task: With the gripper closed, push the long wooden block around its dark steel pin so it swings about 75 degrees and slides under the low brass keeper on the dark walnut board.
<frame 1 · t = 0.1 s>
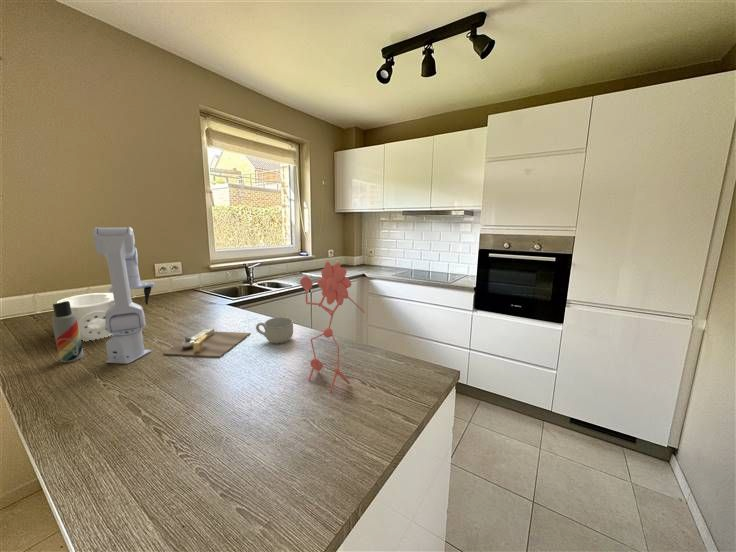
hand: (135, 305, 124), 11 cm above the countertop, tool pointing down, fingers open, 7 cm apart
lotion bottle: (72, 359, 98), on the countertop
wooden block: (198, 336, 111), point 3 cm above the countertop, hinge at 0.0°
figurine: (336, 377, 88), on the countertop
walnut board: (210, 343, 111), on the countertop
brass keeper: (189, 348, 106), resting on walnut board
housing: (101, 329, 125), on the countertop
teacup: (276, 341, 114), on the countertop
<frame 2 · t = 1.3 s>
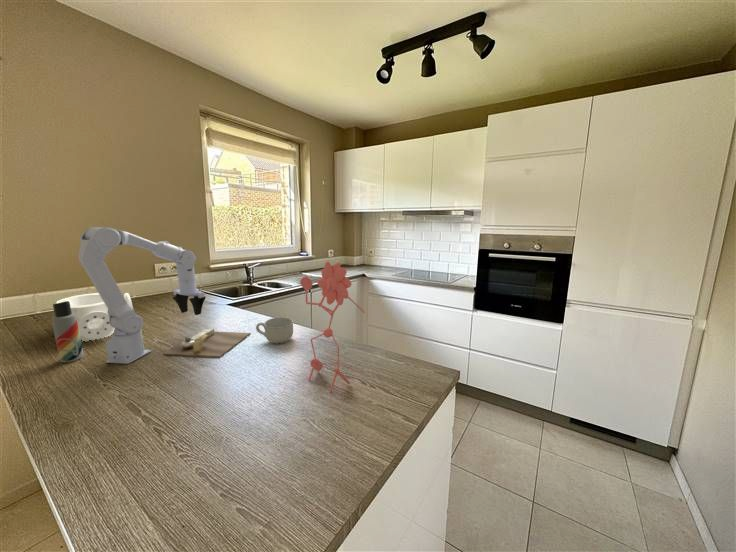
hand: (191, 313, 117), 10 cm above the countertop, tool pointing down, fingers open, 7 cm apart
nothing on the countertop moved.
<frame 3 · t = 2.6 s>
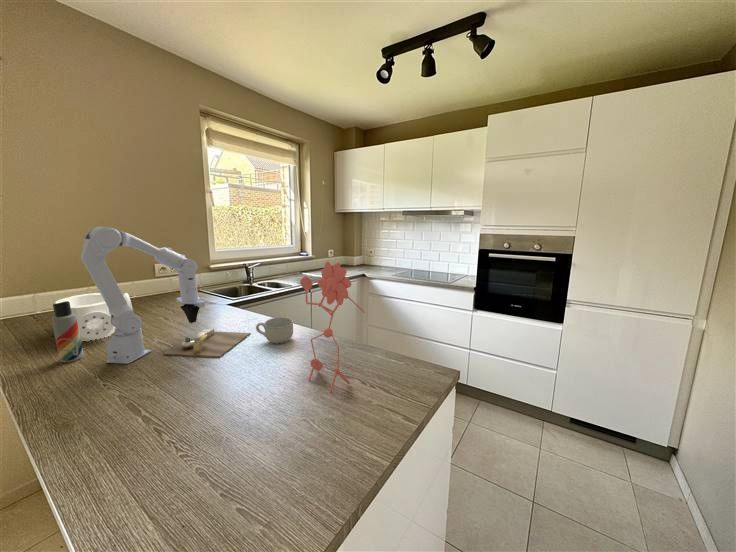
hand: (192, 322, 116), 6 cm above the countertop, tool pointing down, fingers closed
nothing on the countertop moved.
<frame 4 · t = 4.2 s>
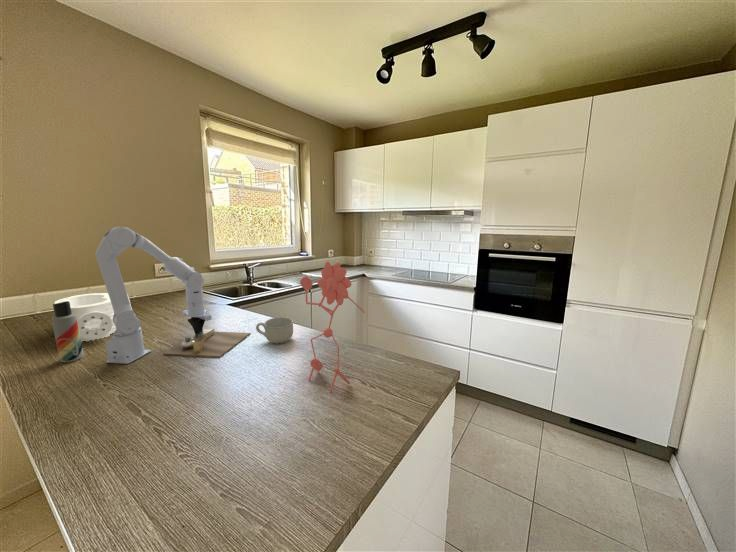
hand: (199, 335, 115), 2 cm above the countertop, tool pointing down, fingers closed, pressing on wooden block
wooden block: (198, 336, 111), point 3 cm above the countertop, hinge at 0.5°, touching gripper
everything else where it was.
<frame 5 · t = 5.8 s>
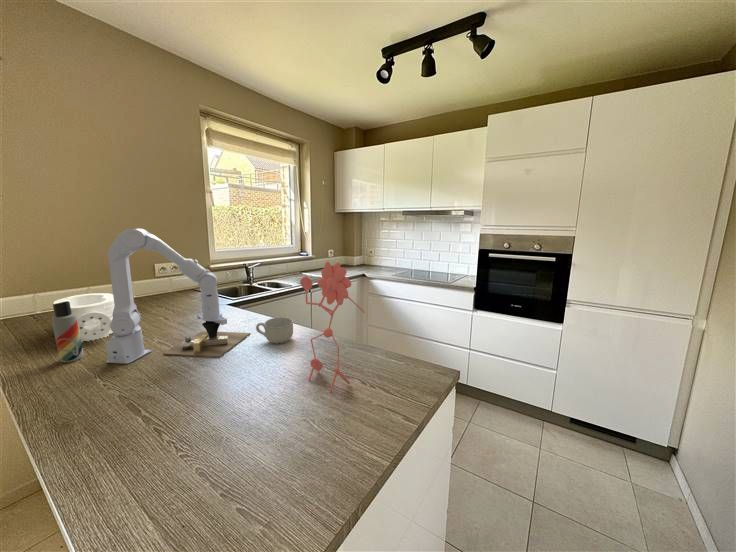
hand: (213, 339, 111), 2 cm above the countertop, tool pointing down, fingers closed, pressing on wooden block
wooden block: (205, 340, 108), point 3 cm above the countertop, hinge at 65.5°, touching gripper
everything else where it was.
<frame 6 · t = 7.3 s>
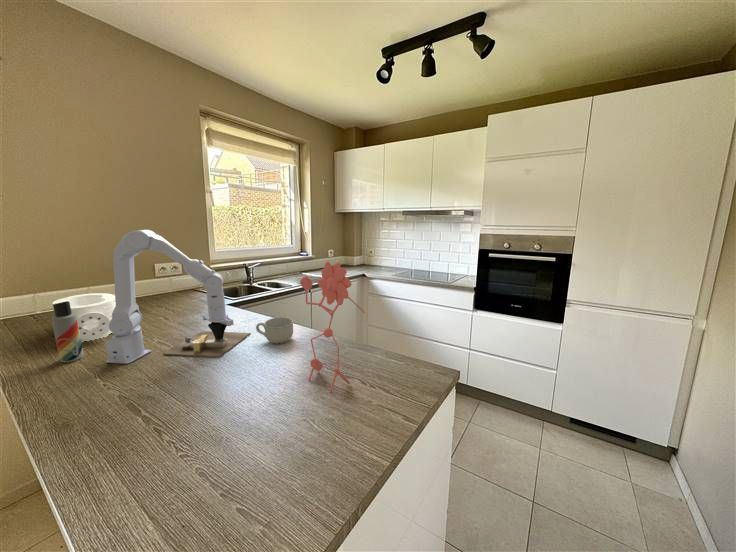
hand: (219, 340, 110), 2 cm above the countertop, tool pointing down, fingers closed
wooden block: (203, 341, 106), point 3 cm above the countertop, hinge at 80.5°, touching gripper
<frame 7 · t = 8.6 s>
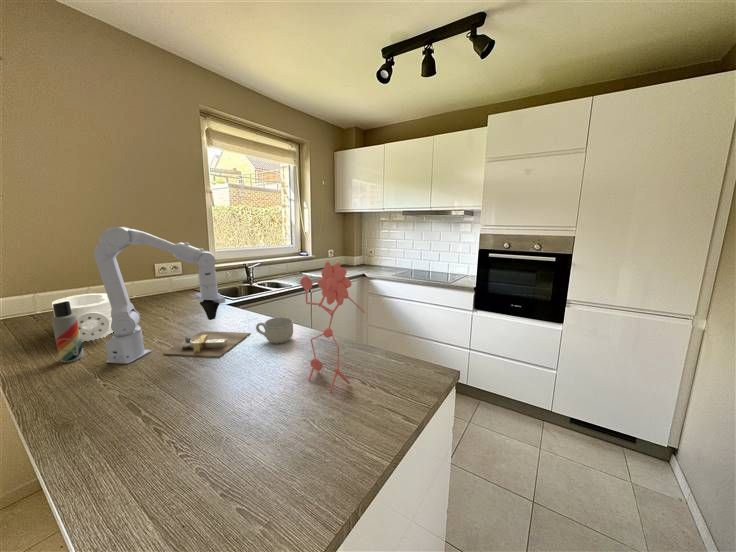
hand: (211, 319, 111), 9 cm above the countertop, tool pointing down, fingers closed
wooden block: (203, 341, 106), point 3 cm above the countertop, hinge at 80.9°
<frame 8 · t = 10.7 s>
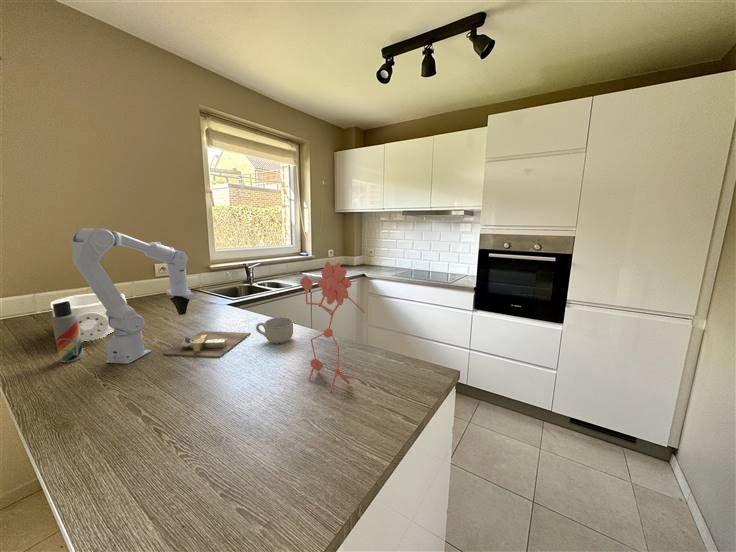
hand: (182, 314, 116), 9 cm above the countertop, tool pointing down, fingers closed
at the end: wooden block at +81° (first picture: +0°); teacup moved 0.3 cm from its start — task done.
